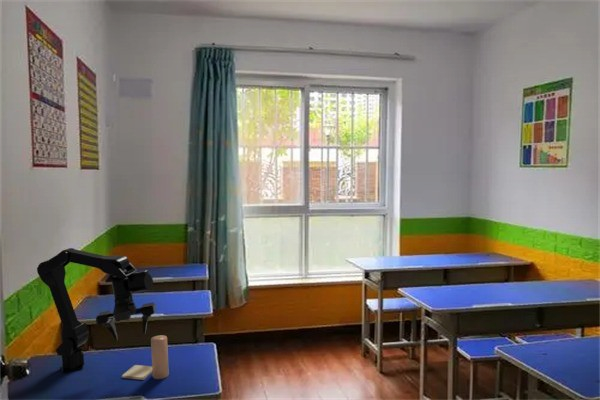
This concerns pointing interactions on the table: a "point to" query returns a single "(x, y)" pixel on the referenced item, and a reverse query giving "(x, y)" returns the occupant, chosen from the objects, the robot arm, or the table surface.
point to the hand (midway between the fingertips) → (130, 337)
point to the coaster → (138, 372)
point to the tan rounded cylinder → (159, 357)
